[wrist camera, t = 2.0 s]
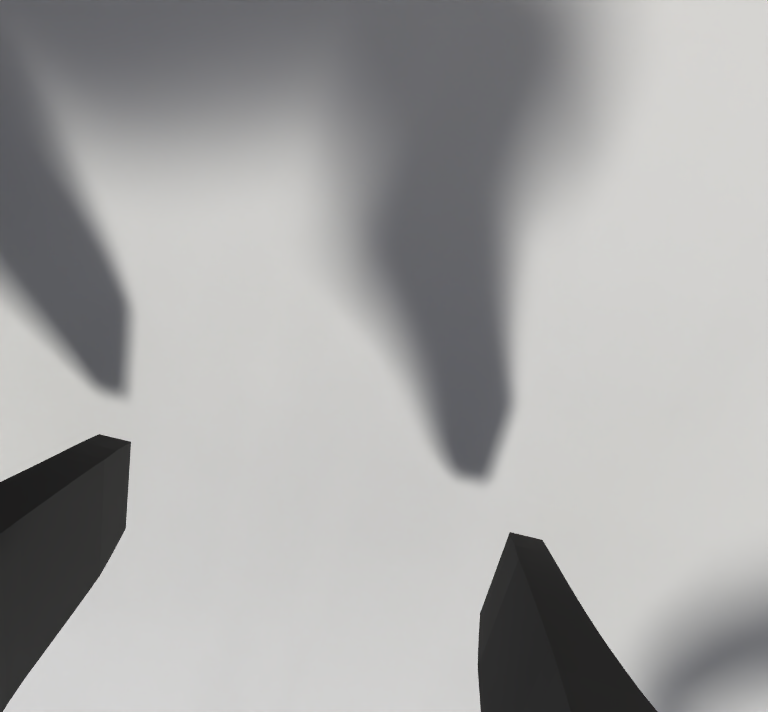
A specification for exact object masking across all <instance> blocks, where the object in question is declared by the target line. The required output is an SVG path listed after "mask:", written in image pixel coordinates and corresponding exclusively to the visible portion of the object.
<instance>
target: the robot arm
mask: <svg viewBox="0 0 768 712" xmlns="http://www.w3.org/2000/svg"><path fill="white" fill-rule="evenodd" d="M130 447H131V442H129V441H125V440H121V439H116V438H112V437H108V436H104V435H100V434H99V435H97V436H94V437H92V438H90V439H88V440H85V441H83V442H81V443H79V444H77V445H75V446H73V447H71V448H69V449H67V450H65V451H63V452H61V453H59V454H57V455H55V456H53V457H51V458H49V459H47V460H45V461H43V462H41V463H39V464H37V465H35V466H33V467H31V468H29V469H27V470H25V471H22V472H20V473H18V474H16V475H14V476H12V477H10V478H8V479H6V480H4V481H2V482H0V712H3V710H4V709H5V707H6V705H7V704H8V702H9V701H10V699H11V698H12V696H13V695H14V693H15V692H16V690H17V689H18V688H19V686H20V685H21V683H22V682H23V680H24V679H25V677H26V676H27V675H28V673H29V672H30V671H31V669H32V668H33V667H34V665H35V664H36V662H37V661H38V660H39V658H40V657H41V656H42V654H43V653H44V652H45V650H46V649H47V647H48V646H49V645H50V643H51V642H52V641H53V639H54V638H55V637H56V635H57V634H58V633H59V631H60V630H61V628H62V627H63V626H64V624H65V623H66V622H67V620H68V619H69V618H70V616H71V615H72V614H73V612H74V611H75V609H76V608H77V607H78V605H79V604H80V602H81V601H82V600H83V598H84V597H85V596H86V594H87V593H88V591H89V590H90V589H91V587H92V586H93V584H94V583H95V582H96V580H97V579H98V577H99V576H100V574H101V573H102V571H103V569H104V567H105V565H106V564H107V562H108V560H109V558H110V557H111V555H112V553H113V551H114V549H115V547H116V546H117V544H118V542H119V540H120V538H121V536H122V534H123V533H124V531H125V529H126V513H127V497H128V480H129V464H130ZM478 677H479V691H480V705H481V712H657V711H656V709H655V708H654V707H653V706H652V705H651V703H650V702H649V701H648V700H647V699H646V697H645V696H644V695H643V693H642V692H641V691H640V690H639V688H638V687H637V686H636V684H635V683H634V682H633V680H632V679H631V678H630V676H629V675H628V674H627V672H626V671H625V669H624V668H623V667H622V665H621V664H620V663H619V661H618V660H617V658H616V657H615V656H614V654H613V653H612V651H611V650H610V649H609V647H608V646H607V644H606V643H605V641H604V640H603V638H602V637H601V635H600V634H599V632H598V631H597V629H596V628H595V626H594V625H593V623H592V621H591V620H590V618H589V617H588V615H587V614H586V612H585V611H584V609H583V607H582V606H581V604H580V602H579V601H578V599H577V598H576V596H575V594H574V593H573V591H572V589H571V588H570V586H569V584H568V583H567V581H566V579H565V577H564V576H563V574H562V572H561V571H560V569H559V567H558V566H557V564H556V562H555V561H554V559H553V557H552V555H551V554H550V552H549V550H548V549H547V547H546V545H545V544H544V542H543V540H540V539H536V538H532V537H528V536H523V535H519V534H515V533H511V532H510V533H509V536H508V539H507V542H506V544H505V547H504V550H503V553H502V555H501V558H500V561H499V564H498V566H497V569H496V572H495V574H494V577H493V580H492V583H491V585H490V588H489V591H488V594H487V596H486V599H485V602H484V605H483V607H482V610H481V613H480V627H479V647H478Z"/></svg>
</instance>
